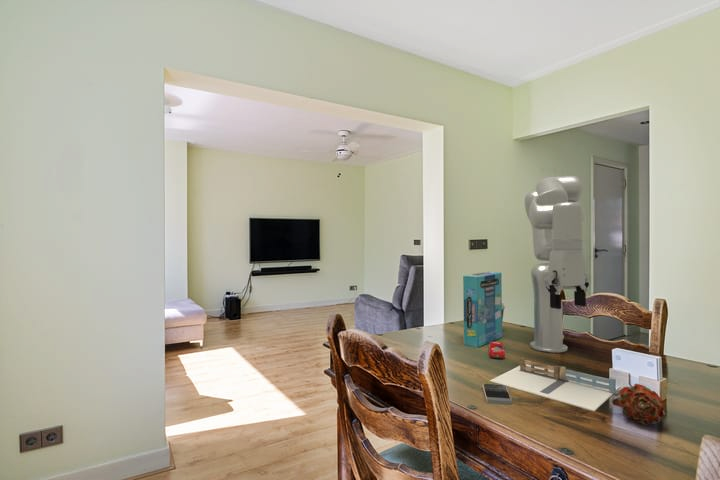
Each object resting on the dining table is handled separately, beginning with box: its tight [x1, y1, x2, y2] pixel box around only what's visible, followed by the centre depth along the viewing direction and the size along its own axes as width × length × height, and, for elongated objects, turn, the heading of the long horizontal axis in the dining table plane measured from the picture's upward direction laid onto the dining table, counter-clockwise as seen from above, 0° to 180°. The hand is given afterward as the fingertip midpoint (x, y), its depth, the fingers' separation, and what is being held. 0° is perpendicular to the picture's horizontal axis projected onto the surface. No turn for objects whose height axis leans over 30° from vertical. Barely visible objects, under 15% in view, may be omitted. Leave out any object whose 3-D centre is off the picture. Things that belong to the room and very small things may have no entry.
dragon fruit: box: [611, 383, 667, 426], centre depth 88 cm, size 8×8×12 cm
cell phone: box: [482, 383, 513, 406], centre depth 102 cm, size 6×11×1 cm, turn 168°
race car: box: [488, 341, 506, 359], centre depth 138 cm, size 13×5×4 cm, turn 162°
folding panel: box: [560, 365, 617, 393], centre depth 107 cm, size 14×1×3 cm, turn 42°
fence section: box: [519, 357, 561, 380], centre depth 116 cm, size 11×1×4 cm, turn 42°
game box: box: [462, 271, 503, 349], centre depth 155 cm, size 20×6×27 cm, turn 135°
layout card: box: [489, 364, 618, 413], centre depth 109 cm, size 22×27×1 cm
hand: (568, 306), depth 110 cm, fingers open, 9 cm apart
